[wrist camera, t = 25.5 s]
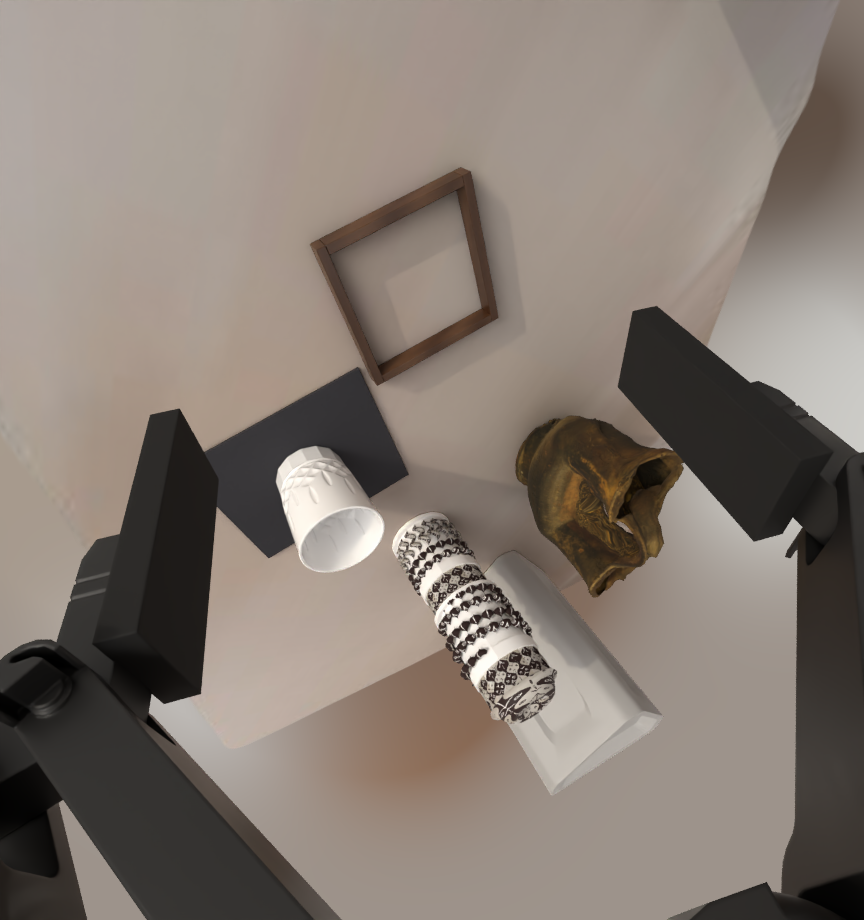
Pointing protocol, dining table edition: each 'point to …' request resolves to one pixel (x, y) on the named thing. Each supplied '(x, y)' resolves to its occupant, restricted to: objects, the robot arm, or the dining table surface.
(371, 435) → the mat
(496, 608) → the decorative candle
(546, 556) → the dining table surface
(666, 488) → the pottery vessel
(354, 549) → the white cup
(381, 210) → the wooden frame
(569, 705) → the white triangular vase
